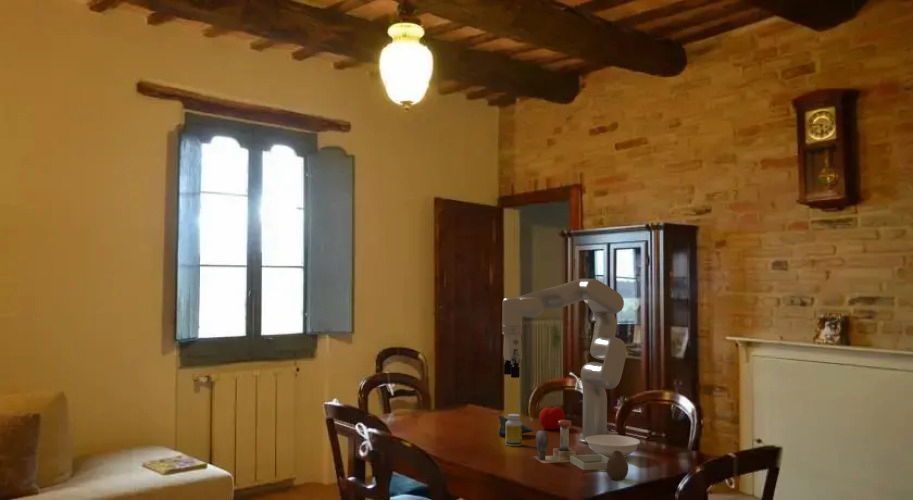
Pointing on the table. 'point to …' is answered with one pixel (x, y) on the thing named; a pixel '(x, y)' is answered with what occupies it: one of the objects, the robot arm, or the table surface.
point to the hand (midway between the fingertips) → (511, 376)
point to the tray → (580, 460)
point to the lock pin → (564, 434)
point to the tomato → (551, 417)
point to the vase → (617, 466)
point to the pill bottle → (513, 430)
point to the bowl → (612, 444)
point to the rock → (503, 427)
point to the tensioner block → (557, 454)
